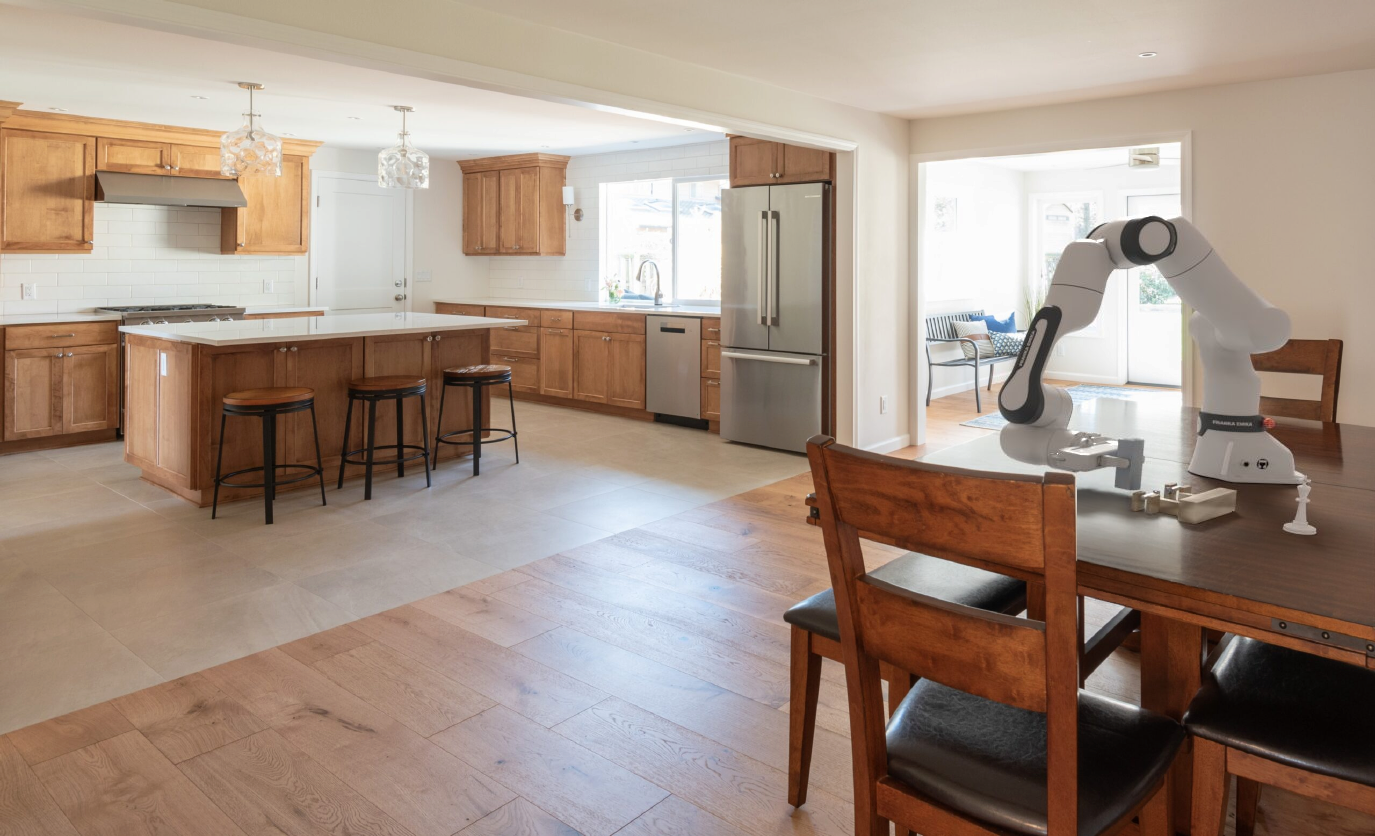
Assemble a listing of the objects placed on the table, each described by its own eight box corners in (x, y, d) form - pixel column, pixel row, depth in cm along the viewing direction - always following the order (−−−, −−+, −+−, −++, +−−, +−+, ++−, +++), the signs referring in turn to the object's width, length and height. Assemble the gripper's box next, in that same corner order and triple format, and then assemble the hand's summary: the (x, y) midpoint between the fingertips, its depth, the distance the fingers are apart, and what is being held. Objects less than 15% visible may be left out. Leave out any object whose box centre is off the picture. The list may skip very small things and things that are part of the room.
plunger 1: (1139, 500, 169) (1140, 494, 169) (1154, 496, 172) (1155, 490, 172) (1145, 501, 168) (1146, 495, 168) (1160, 497, 171) (1161, 491, 171)
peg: (1114, 487, 179) (1118, 438, 177) (1124, 484, 181) (1128, 436, 179) (1133, 491, 175) (1138, 441, 174) (1144, 488, 178) (1148, 439, 176)
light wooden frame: (1130, 510, 170) (1131, 490, 169) (1171, 498, 179) (1173, 479, 179) (1194, 524, 161) (1196, 502, 160) (1234, 510, 170) (1236, 490, 169)
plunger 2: (1163, 493, 174) (1164, 487, 174) (1177, 489, 177) (1178, 483, 177) (1169, 494, 173) (1170, 488, 173) (1183, 490, 177) (1184, 484, 176)
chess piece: (1282, 525, 160) (1288, 471, 158) (1316, 529, 157) (1322, 475, 155) (1282, 532, 156) (1288, 476, 154) (1316, 536, 153) (1323, 480, 151)
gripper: (1044, 441, 181) (1109, 452, 170) (1098, 431, 193) (1162, 440, 182) (1042, 471, 182) (1106, 484, 171) (1096, 459, 194) (1160, 470, 183)
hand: (1135, 461), depth 177 cm, fingers closed on peg, 4 cm apart
